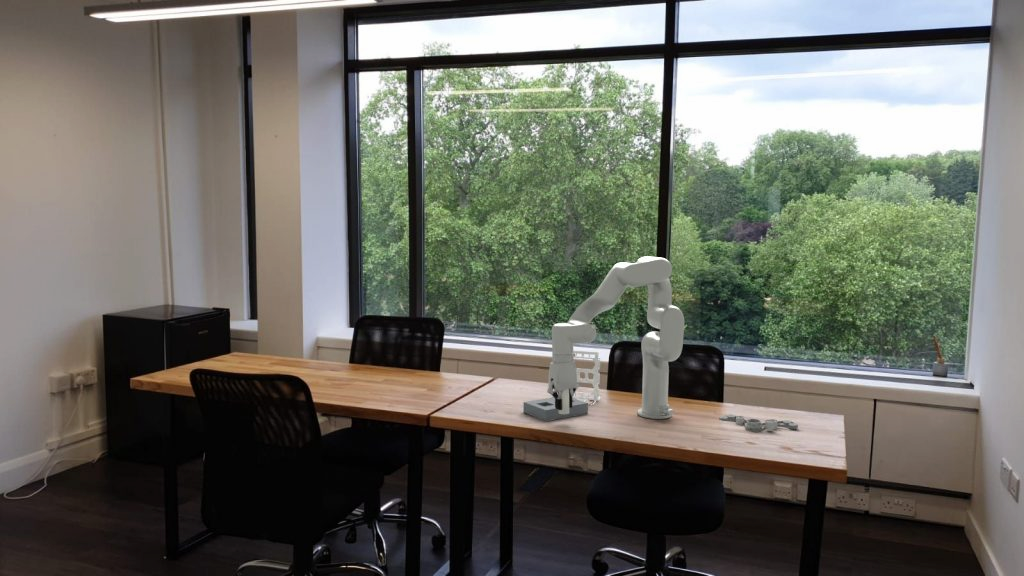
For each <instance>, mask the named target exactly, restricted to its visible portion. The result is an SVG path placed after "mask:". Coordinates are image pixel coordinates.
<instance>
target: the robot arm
mask: <svg viewBox="0 0 1024 576" xmlns="http://www.w3.org/2000/svg"><path fill="white" fill-rule="evenodd" d="M672 273H673V267H672V264H671V262H670V261H669V260H668V259H667V258H664V257H658V256H648V255H647V256H642V257H640V258H638V259H637V261H636V262H634V263H631V262H617V263H615V264H614V265H613V266H612V267H611V269H610V270H609V271H608V273H607V275H605V277H604V279H603V280H602V282H601V284H599V286H598V288H597V289H596V290H595V292H594V293H593V294H592V295H590V296H589V297H588V298H587V299H585V300H584V301H583V302H582V303H581V304H579V306H578V307H577V308H576V309H575V311H574V312H573V313H572V314H571V316H570V318H569V319H568V320H567V322H558V323H554V324H553V325H552V327H551V341H552V342H551V351H552V354H551V355H552V359H551V360H552V361H551V362H550V363H549V369H548V381H547V382H548V383H547V384H548V388H547V389H546V392H547V393H548V394H550V395H551V397H554V398H555V408H556V409H558V410H562V399H560V398H561V391H562V390H565V389H569V407H570V408H572V397H573V396H575V394H574V393H575V392H577V390H578V389H579V387H580V383H579V382H577V372H576V368H577V367H576V362H575V360H574V358H573V357H575V355H576V353H573V351H574V344H585V345H586V344H590V343H592V342H593V341H594V340H596V338H597V329H596V327H595V326H594V325H593V324H591V321H592V320H593V319H594V318H595V317H596V316H597V315H600V314H601V313H603V312H606V311H609V310H610V309H612V308H614V306H616V304H617V303H618V301H619V300H620V298H621V297H622V296H623V294H624V293H625V291H626V290H627V289H628V287H629V288H639V287H643V286H647V290H648V298H647V299H648V300H647V313H646V320H647V323H648V324H649V325H650V326H651V327H653V328H655V329H657V330H659V331H656V330H654V331H649V332H647V333H646V334H645V335H644V336H643V337H642V339H641V355H642V388H641V389H642V394H641V408H639V409H637V415H638V416H640V417H642V418H646V419H654V420H663V419H668V418H671V417H672V416H673V414H675V410H674V409H671V408H670V407H671V405H670V404H668V403H669V401H668V400H669V373H670V369H669V368H670V367H669V362H675V361H676V360H677V359H678V358H680V356H681V354H682V351H683V345H684V333H685V317H684V314H683V311H682V310H681V309H680V308H679V307H677V306H676V305H673V304H672V303H673V302H672V298H673V295H672V294H673V290H672V289H673V288H672V284H671V281H670V277H671V275H672Z"/></svg>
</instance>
